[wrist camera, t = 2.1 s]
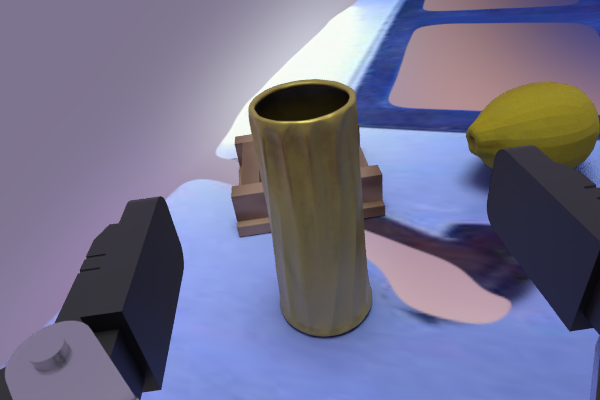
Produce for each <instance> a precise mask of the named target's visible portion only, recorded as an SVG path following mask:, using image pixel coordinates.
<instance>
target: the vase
mask: <svg viewBox="0 0 600 400" xmlns="http://www.w3.org/2000/svg"><path fill="white" fill-rule="evenodd" d="M249 122H250V127H251V132H252V137H253V142H254V147H255V152H256V156H257V161H258V166H259V171H260V176H261V181H262V186H263V190H264V195H265V199H266V204H267V210H268V215H269V221H270V227H271V232H272V238H273V247H274V255H275V263H276V271H277V278H278V284H279V291H280V307H281V311H282V313H283V315H284V317H285V318H286V320H287V321H288V322H289V323H290V324H291V325H292V326H293V327H295V328H296V329H298V330H300V331H302V332H304V333H306V334H309V335H314V336H323V337H325V336H334V335H339V334H342V333H345V332H348V331H349V330H351V329H353V328H355V327H356V326H358V325H359V324H360V323H361V322H362V321H363V320H364V318H365V317H366V315H367V314H368V312H369V311H370V309H371V305H372V291H371V287H370V283H369V278H368V270H367V259H366V249H365V233H364V216H363V201H362V184H361V171H360V161H359V134H358V121H357V108H356V94H355V92H354V90H353V89H352V88H350V87H349V86H346V85H344V84H342V83H339V82H335V81H328V80H319V79H312V80H299V81H293V82H289V83H284V84H280V85H277V86H274V87H272V88H269V89H267V90H265V91H264V92H262V93H261V94H259V95H258V96H256V97H255V98H254V99H253V100H252V102H251V103H250V105H249Z"/></svg>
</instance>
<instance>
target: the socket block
mask: <svg viewBox="0 0 600 400" xmlns="http://www.w3.org/2000/svg"><path fill="white" fill-rule="evenodd" d="M358 134H359V124H358ZM235 147H236V152H237V156H238V160H239V165H240V175H239V186H233V187H232V193H231V198H232V202H233V206H234V210H235V214H236V218H237V222H238V223H237V228H238V232H239V236H240V237H243V236H250V235H256V234H263V233H270V232H271V227H270V221H269V215H268V210H267V204H266V199H265V195H264V190H263V186H262V181H261V176H260V171H259V166H258V161H257V156H256V152H255V147H254V142H253V137H252V134H251V135H244V136H237V137H235ZM359 161H360V171H361V184H362V201H363V216H364V218H370V217H377V216H383V215H385V205H384V203H383V200H382V173H381V171H380V169H379V167H378V165H374V166H368V164H367V161H366V159H365V157H364V155H363V152H362V150H361V148H360V134H359Z"/></svg>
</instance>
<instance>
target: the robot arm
mask: <svg viewBox="0 0 600 400" xmlns="http://www.w3.org/2000/svg"><path fill="white" fill-rule="evenodd" d="M487 214H488V218H489V221H490V224H491V226H492V228H493V229H494V230H495V232H496V233H497V234H498V236H499V237H500V238H501V240H502V241H503V242H504V244H505V245H506V247H507V248H508V249H509V251H510V252H511V253H512V255H513V256H514V257H515V259H516V260H517V261H518V263H519V264H520V265H521V267H522V268H523V269H524V271H525V272H526V273H527V275H528V276H529V277H530V279H531V280H532V281H533V283H534V284H535V285H536V287H537V288H538V290H539V291H540V292H541V294H542V295H543V296H544V298H545V299H546V300H547V302H548V303H549V304H550V306H551V307H552V308H553V310H554V311H555V312H556V314H557V315H558V316H559V318H560V319H561V320H562V322H563V323H564V324H565V326H566V327H567V328H568V330H569V331H576V330H583V329H589V328H594V329H595V330H596V331H597V332H598V334H599V335H600V188H596V185H595V184H594V183H593V182H592V181H591V180H589V179H588V178H587V177H586V176H584V175H583V174H582V173H581V172H579V171H577V170H574V169H572V168H570V167H568V166H565V165H563V164H561V163H559V162H554V161H553V160H551V159H550V158H549V157H548V156H547V155H545V154H544V153H543V152H542V151H541V150H540V149H538V148H537V147H536V146H534V145H528V146H521V147H514V148H507V149H501V150H499V151H498V152H497V153H496V155H495V158H494V163H493V169H492V175H491V181H490V187H489V194H488V200H487ZM86 258H87V259H86V260H84V262H83V264H82V266H81V269H80V274H78V275H77V277H76V279H75V281H74V283H73V285H72V288H71V290H70V292H69V294H68V296H67V298H66V300H65V302H64V304H63V306H62V309H61V311H60V313H59V315H58V317H57V319H56V321H55V323H54V324H52V325H49V326H47V327H45V328H43V329H41V330H39V331H37V332H36V333H34V334H33V335H31V336H30V337H29V338H27V339H26V340H25V341H24V342H23V343H22V344H21V345H20V346H19V347H18V348H17V349H16V350H15V351H14V353H13V354H12V356H11V357H10V359H9V361H8V363H7V365H6V367H5V368H3V369H1V370H0V400H140V399H141V395H142V392H149V391H156V390H161V388H162V382H163V377H164V372H165V366H166V361H167V356H168V350H169V345H170V340H171V334H172V329H173V324H174V318H175V313H176V308H177V302H178V297H179V292H180V286H181V281H182V276H183V270H184V259H183V252H182V247H181V244H180V241H179V238H178V235H177V232H176V229H175V226H174V224H173V221H172V218H171V215H170V212H169V209H168V206H167V203H166V201H165V200H164V198H163V197H161V196H160V197H153V198H146V199H139V200H131V201H129V202H128V203H127V205H126V208H125V210H124V212H123V215H122V217H121V220H120V222H119V223H118V224H111V225H109V226H108V227H107V228H106V229H105V230H104V231H103V232H102V233H101V234H100V235H98V236H97V237H96V238H95V239H94V241H93V243H92V245H91V247H90V249H89V251H88V254H87V256H86ZM590 400H600V336H599V338H598V340H597V342H596V346H595V354H594V364H593V373H592V383H591V392H590Z"/></svg>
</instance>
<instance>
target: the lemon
mask: <svg viewBox="0 0 600 400" xmlns="http://www.w3.org/2000/svg"><path fill="white" fill-rule="evenodd" d="M598 136H599V118H598V113H597V111H596V108H595V106H594V104H593V103H592V102H591V100H590V99H589V98H588V97H587V95H586V94H585V93H584V92H582V91H581V90H580V89H578V88H577V87H574V86H571V85H568V84H562V83H555V82H539V83H531V84H527V85H523V86H519V87H517V88H514V89H512V90H509V91H507V92H505V93H503V94H501V95H500V96H498V97H497V98H495V99H494V100H493V101H492V102H490V103H489V104H488V105H487V106H486V107H485V109H484V110H483V111H482V112H481V113H480V115H479V116H478V117H477V119H476V120H475V121H474V122H473V123H472V125H471V126H470V127H469V129H468V130H467V133H466V138H467V141H468V145H469V150H470V152H471V153H473V154H474V155H476V156H478V157H480V158H481V160H482V161H483V162H484V163H485V164H486V165H487V166H488V167H490V168H491V169H493V163H494V158H495V155H496V153H497V152H498V151H499V150H501V149H507V148H514V147H521V146H528V145H534V146H536V147H537V148H538V149H540V150H541V151H542V152H543V153H544V154H545V155H547V156H548V157H549V158H550V159H551V160H553V161H554V162H559V163H561V164H563V165H565V166H568V167H570V168H572V169H573V168H575V167H577V166H578V165H580V164H581V163H582V162H584V161H585V160H586V159H587V157H588V156H589V155H590V154H591V152H592V151H593V149H594V146H595V143H596V141H597V138H598Z"/></svg>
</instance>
